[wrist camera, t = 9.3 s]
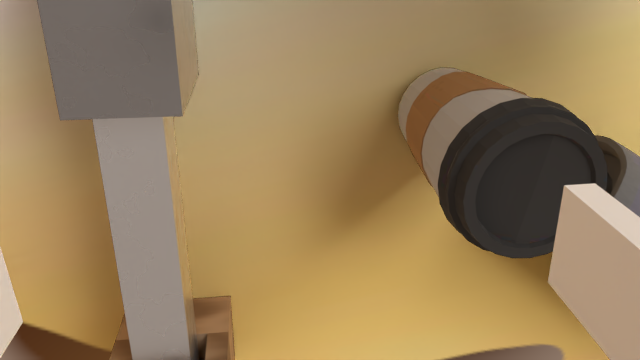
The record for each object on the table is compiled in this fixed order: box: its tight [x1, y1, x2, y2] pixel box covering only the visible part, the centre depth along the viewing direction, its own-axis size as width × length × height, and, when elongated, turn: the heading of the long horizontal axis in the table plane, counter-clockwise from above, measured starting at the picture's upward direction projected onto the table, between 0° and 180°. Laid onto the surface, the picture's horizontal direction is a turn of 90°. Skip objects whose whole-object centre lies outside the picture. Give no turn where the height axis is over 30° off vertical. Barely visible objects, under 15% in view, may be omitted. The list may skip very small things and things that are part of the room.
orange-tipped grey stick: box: [92, 117, 199, 360], centre depth 34 cm, size 4×25×4 cm, turn 0°
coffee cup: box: [398, 68, 607, 258], centre depth 34 cm, size 8×8×15 cm
